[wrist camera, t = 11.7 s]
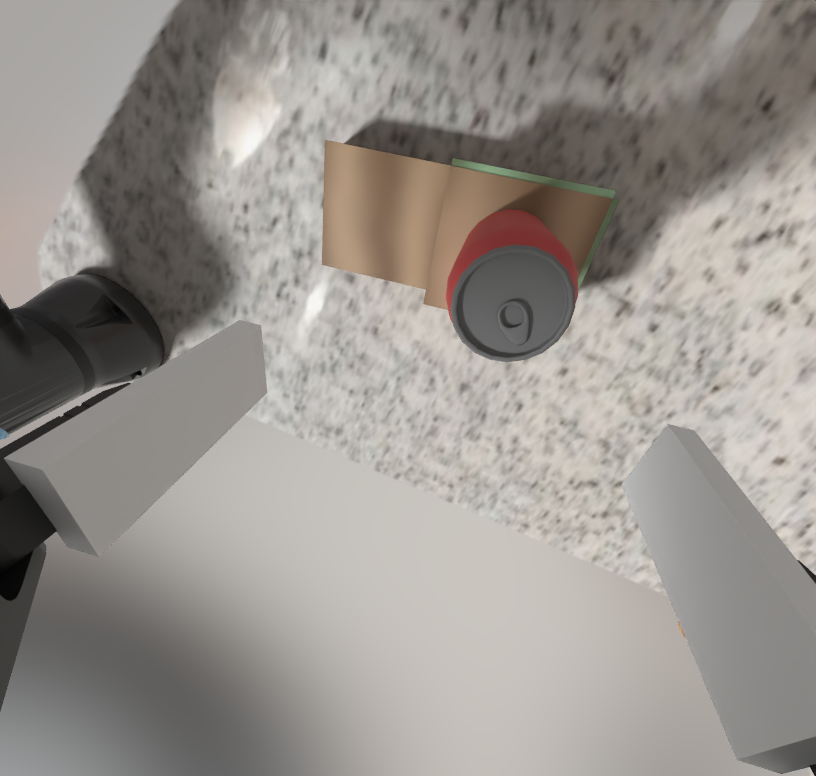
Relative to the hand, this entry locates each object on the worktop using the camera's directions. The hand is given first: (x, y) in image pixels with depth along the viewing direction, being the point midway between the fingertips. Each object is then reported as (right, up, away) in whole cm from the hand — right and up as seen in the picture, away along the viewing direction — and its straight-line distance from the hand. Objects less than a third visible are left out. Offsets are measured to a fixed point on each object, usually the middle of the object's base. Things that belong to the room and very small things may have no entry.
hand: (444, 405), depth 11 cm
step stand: (+3, +16, +21) cm, 27 cm away
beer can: (+6, +11, +14) cm, 19 cm away
